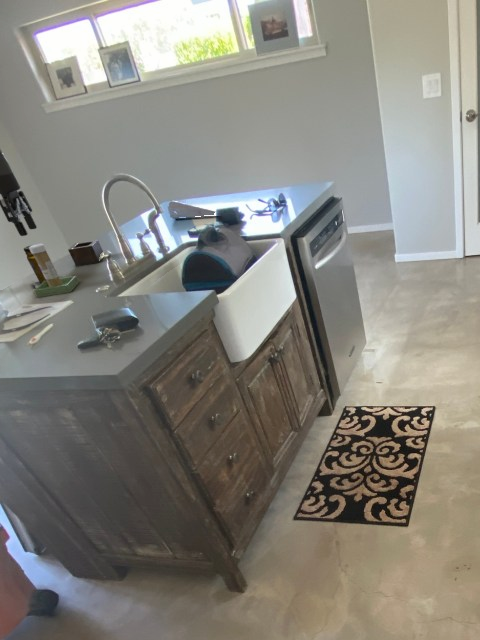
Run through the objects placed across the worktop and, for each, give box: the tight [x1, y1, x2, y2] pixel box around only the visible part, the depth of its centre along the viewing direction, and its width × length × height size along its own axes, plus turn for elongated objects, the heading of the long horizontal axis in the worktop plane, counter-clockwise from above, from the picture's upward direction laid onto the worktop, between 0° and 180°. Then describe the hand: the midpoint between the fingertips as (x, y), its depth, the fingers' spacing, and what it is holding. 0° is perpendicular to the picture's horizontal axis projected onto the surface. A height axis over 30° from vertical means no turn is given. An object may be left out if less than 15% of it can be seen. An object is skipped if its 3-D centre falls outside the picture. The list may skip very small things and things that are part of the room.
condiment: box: [23, 244, 46, 289], centre depth 183 cm, size 7×8×12 cm
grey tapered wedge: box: [167, 199, 216, 220], centre depth 242 cm, size 8×9×26 cm
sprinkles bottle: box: [29, 243, 64, 287], centre depth 174 cm, size 5×5×14 cm
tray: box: [33, 275, 80, 298], centre depth 178 cm, size 11×10×2 cm
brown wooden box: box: [67, 239, 104, 267], centre depth 202 cm, size 9×9×6 cm
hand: (29, 232), depth 167 cm, fingers open, 8 cm apart
